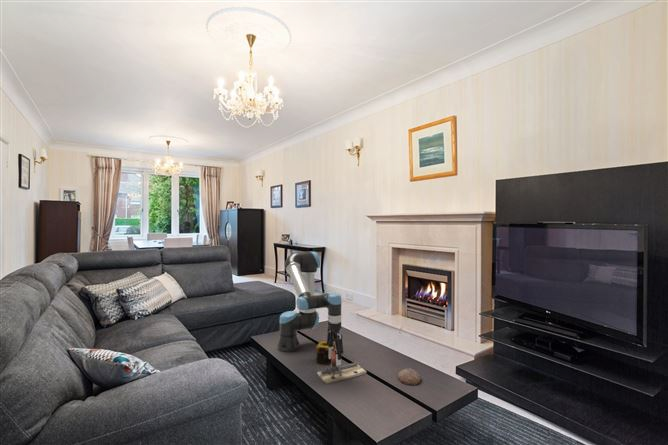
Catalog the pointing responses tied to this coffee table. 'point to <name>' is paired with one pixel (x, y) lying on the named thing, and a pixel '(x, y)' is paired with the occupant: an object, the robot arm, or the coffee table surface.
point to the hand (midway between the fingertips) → (334, 361)
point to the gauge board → (345, 374)
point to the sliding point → (334, 361)
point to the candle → (323, 353)
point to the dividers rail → (329, 370)
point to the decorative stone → (409, 376)
